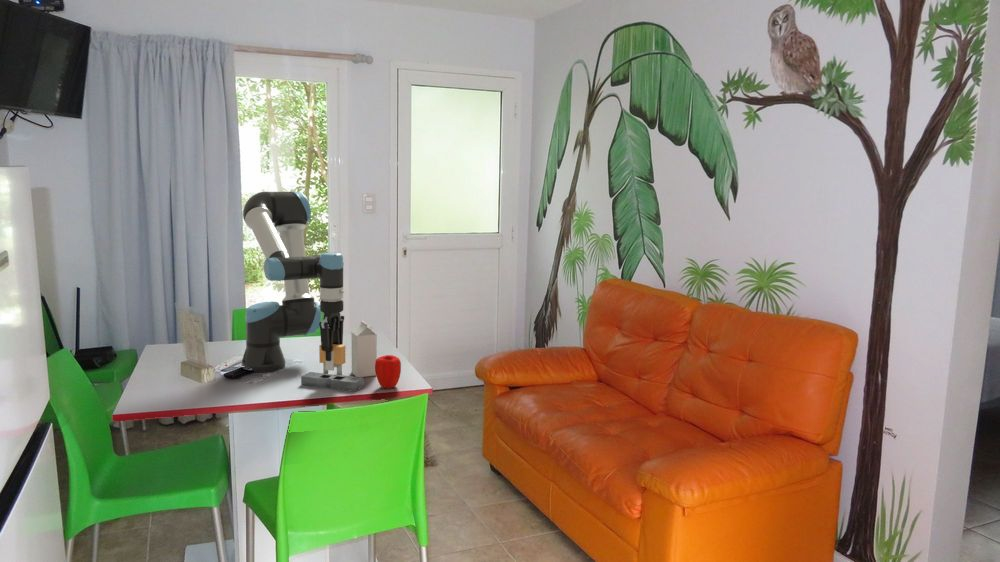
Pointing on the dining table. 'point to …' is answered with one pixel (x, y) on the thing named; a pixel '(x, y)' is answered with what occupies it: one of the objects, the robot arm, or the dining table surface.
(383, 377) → the apple
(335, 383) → the grey flat block
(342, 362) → the clip
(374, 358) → the milk carton
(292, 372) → the dining table surface
